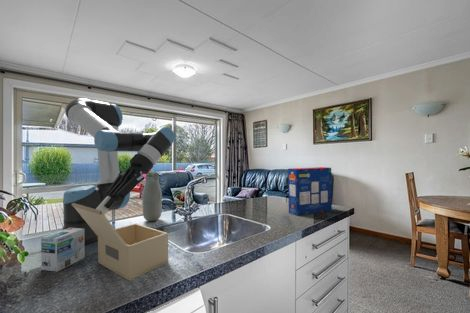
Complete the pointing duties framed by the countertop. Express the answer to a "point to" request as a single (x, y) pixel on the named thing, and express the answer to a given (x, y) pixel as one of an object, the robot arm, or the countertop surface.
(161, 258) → the carton
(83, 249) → the light bulb box
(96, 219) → the carton flap
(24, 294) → the countertop surface
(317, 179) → the blue product box
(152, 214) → the grey vase
